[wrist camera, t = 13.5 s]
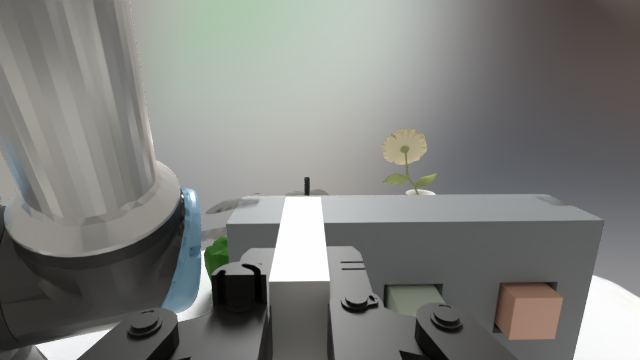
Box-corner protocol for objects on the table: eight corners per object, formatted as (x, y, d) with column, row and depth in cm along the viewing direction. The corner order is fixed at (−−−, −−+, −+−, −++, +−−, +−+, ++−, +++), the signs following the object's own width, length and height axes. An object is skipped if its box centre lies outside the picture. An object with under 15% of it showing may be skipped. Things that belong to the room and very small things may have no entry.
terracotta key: (508, 339, 32) (515, 298, 31) (473, 296, 39) (478, 261, 38) (554, 338, 32) (563, 297, 31) (511, 295, 39) (517, 260, 38)
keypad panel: (239, 406, 35) (226, 223, 30) (251, 349, 43) (242, 196, 38) (564, 397, 36) (604, 220, 31) (519, 343, 44) (545, 194, 39)
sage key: (401, 370, 29) (404, 325, 27) (383, 316, 35) (385, 278, 34) (453, 369, 29) (458, 324, 28) (425, 316, 35) (429, 277, 34)
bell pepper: (198, 287, 56) (192, 231, 54) (241, 269, 62) (237, 217, 59) (226, 309, 51) (222, 247, 48) (270, 287, 56) (268, 230, 54)
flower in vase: (448, 256, 67) (462, 127, 60) (446, 286, 57) (463, 134, 50) (381, 245, 71) (387, 124, 65) (368, 271, 61) (374, 130, 55)
